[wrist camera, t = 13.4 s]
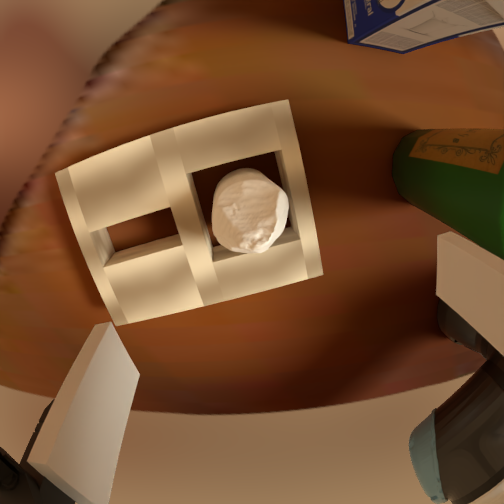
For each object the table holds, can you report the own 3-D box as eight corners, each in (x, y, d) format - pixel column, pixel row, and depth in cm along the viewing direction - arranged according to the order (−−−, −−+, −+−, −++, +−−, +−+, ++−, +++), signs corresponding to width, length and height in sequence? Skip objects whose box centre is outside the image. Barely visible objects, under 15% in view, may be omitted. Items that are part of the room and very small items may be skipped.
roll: (266, 165, 17) (324, 236, 19) (248, 155, 28) (285, 199, 30) (188, 235, 18) (251, 297, 20) (200, 197, 29) (239, 239, 31)
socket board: (311, 258, 33) (323, 274, 29) (125, 306, 33) (116, 326, 29) (279, 104, 27) (288, 99, 23) (73, 167, 27) (54, 173, 23)
